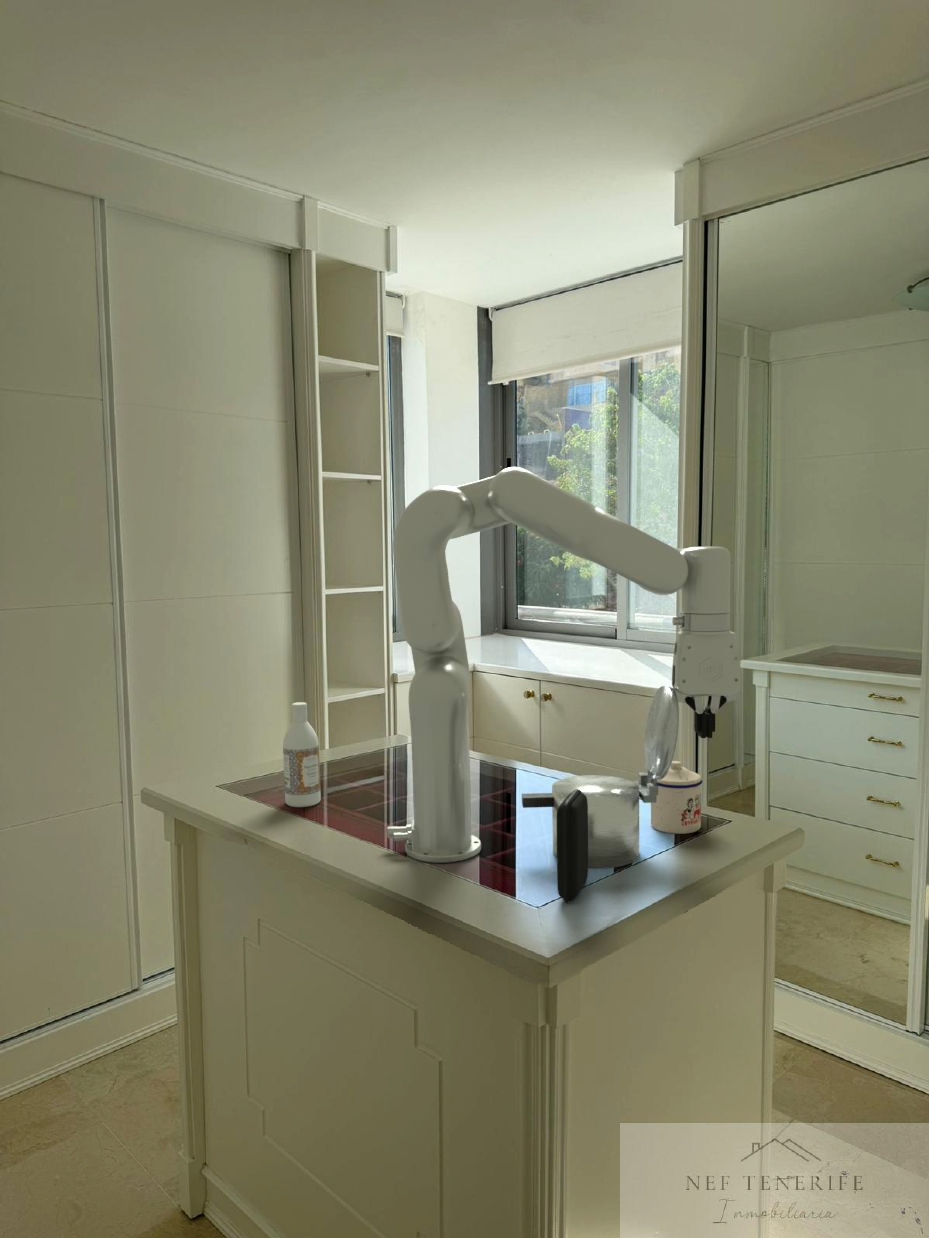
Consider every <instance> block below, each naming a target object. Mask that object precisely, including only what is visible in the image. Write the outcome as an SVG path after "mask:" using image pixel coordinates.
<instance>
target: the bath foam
mask: <svg viewBox="0 0 929 1238" xmlns="http://www.w3.org/2000/svg"><path fill="white" fill-rule="evenodd" d="M291 718H292V719H291V720H292V722H291V723H290V726H289V727H288V729H287V730H286V733H285V735H284V736H283V737H284V738H283V742H282V744H283V745H282V753H283V754H282V755H283V756H282V757H283V758H282V759H283V778H284V779H283V781H284V802H285V804H286V805H287V806H289V807H292V808H306V807H307V808H308V807H312V806H316V805H317V804H319V803H320V801H322V800H321V797H322V795H321V792H322V791H321V767H320V765H321V764H320V745H319V738H318V735H317V732H315V729H314V728H313V726H312V725H311V724H310V723H309V721H308V704H307V702H303V701H301V702H300V701H297V702H293V703H292V704H291Z"/></svg>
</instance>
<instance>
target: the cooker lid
mask: <svg viewBox="0 0 929 1238" xmlns="http://www.w3.org/2000/svg"><path fill="white" fill-rule="evenodd" d="M654 694H655V695H654V697H653V699H652V701H651V703H650V707H649V711H648V715H647V720H646V726H645V733H644V743H643V744H644V745H643V746H644V747H643V748H644V754H643V756H644V766H645V770H646V773H647V779H646V782H647V783H656V784H657V780H661V779H663V778H664V777H665V775H666V774H667V772H668V770H669V768H670V765H671V763H672V761H673V760H674V759H673V758H674V755H675V751H676V747H677V743H678V741H677V740H678V733H679V723H680V722H679V721H680V720H679V718H680V715H679V714H680V712H679V702H678V700H677V695H676V692H675V690H674V689H673V687H671V686H665V685H664V686H660V687H659V688H658V689H657V690H656V692H655V693H654Z"/></svg>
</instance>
